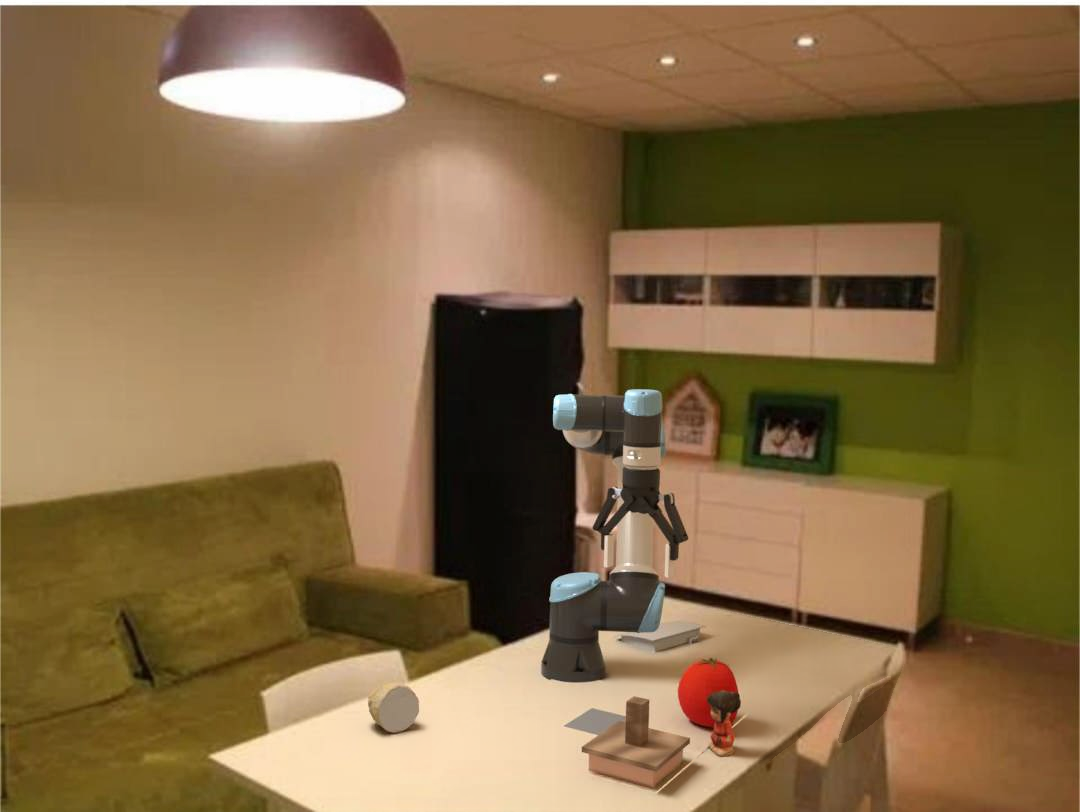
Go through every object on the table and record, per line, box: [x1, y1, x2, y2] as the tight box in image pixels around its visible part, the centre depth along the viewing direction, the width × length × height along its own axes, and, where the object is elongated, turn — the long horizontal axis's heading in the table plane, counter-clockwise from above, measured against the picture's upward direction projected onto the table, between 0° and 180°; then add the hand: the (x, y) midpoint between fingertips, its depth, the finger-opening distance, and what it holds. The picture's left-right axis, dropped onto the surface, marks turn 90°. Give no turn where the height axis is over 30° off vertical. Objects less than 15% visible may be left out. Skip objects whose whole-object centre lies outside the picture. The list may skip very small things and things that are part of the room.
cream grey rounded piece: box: [367, 681, 420, 734], centre depth 211 cm, size 10×10×10 cm
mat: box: [563, 707, 626, 736], centre depth 214 cm, size 12×12×1 cm
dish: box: [588, 749, 684, 789], centre depth 194 cm, size 13×13×4 cm
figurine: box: [707, 690, 742, 757], centre depth 203 cm, size 6×6×12 cm
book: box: [613, 620, 707, 653], centre depth 273 cm, size 15×23×4 cm, turn 131°
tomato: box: [677, 657, 739, 729], centre depth 215 cm, size 13×11×14 cm
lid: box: [581, 696, 691, 772], centre depth 193 cm, size 15×15×9 cm
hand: (638, 571), depth 210 cm, fingers open, 13 cm apart
